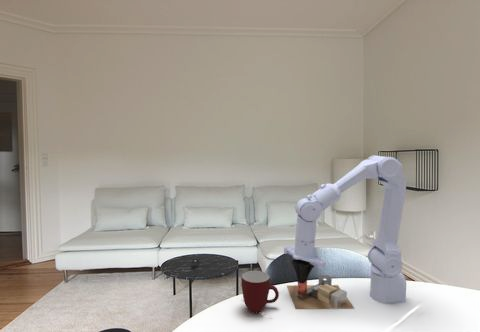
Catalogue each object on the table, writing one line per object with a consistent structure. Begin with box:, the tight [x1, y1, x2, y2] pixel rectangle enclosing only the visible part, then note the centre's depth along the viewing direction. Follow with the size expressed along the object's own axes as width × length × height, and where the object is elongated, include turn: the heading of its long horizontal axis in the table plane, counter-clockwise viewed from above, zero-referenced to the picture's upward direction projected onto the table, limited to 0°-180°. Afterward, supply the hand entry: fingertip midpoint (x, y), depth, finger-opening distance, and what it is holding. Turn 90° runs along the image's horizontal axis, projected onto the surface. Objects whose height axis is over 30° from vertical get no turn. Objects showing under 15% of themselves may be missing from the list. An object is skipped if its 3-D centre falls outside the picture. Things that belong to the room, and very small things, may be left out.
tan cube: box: [318, 284, 337, 304], centre depth 97 cm, size 4×4×4 cm
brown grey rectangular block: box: [330, 288, 348, 310], centre depth 94 cm, size 5×2×4 cm, turn 130°
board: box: [286, 284, 356, 310], centre depth 99 cm, size 17×15×1 cm
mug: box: [240, 270, 280, 315], centre depth 92 cm, size 11×8×10 cm
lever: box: [297, 274, 332, 300], centre depth 101 cm, size 14×5×5 cm, turn 128°
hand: (301, 283), depth 97 cm, fingers closed, pressing on lever
